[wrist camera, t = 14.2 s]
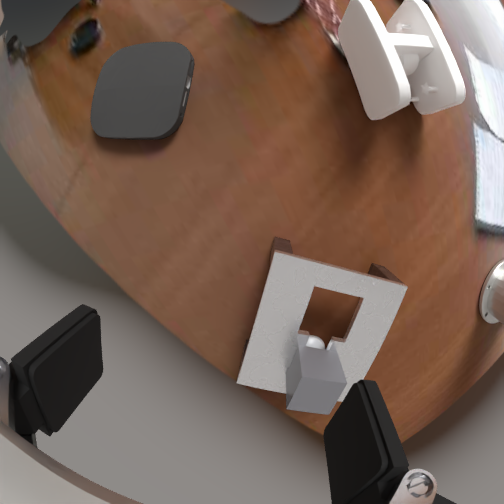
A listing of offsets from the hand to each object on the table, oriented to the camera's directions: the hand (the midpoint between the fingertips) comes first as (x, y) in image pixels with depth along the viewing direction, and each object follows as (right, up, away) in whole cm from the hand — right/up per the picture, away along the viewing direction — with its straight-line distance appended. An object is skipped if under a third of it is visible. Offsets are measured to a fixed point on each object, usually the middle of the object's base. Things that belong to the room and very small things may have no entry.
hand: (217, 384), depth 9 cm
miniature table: (+10, -4, +30) cm, 31 cm away
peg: (+9, -8, +26) cm, 29 cm away
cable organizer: (+19, +30, +21) cm, 41 cm away
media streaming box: (-14, +27, +24) cm, 39 cm away
